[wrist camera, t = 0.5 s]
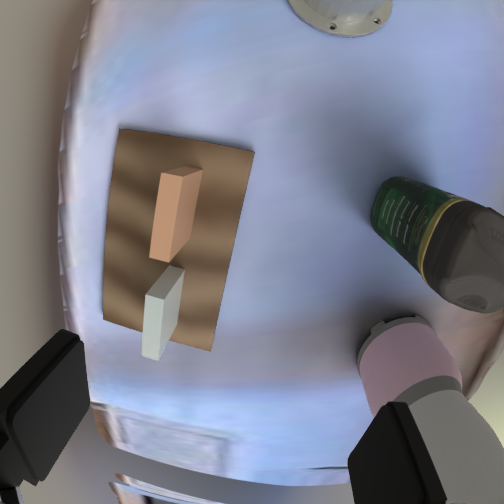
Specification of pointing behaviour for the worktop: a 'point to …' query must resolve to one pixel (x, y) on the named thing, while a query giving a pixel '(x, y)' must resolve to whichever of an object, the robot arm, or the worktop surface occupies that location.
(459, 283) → the coffee jar
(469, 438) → the blender
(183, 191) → the terracotta tile
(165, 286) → the grey-blue tile
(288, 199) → the worktop surface
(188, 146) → the walnut board
